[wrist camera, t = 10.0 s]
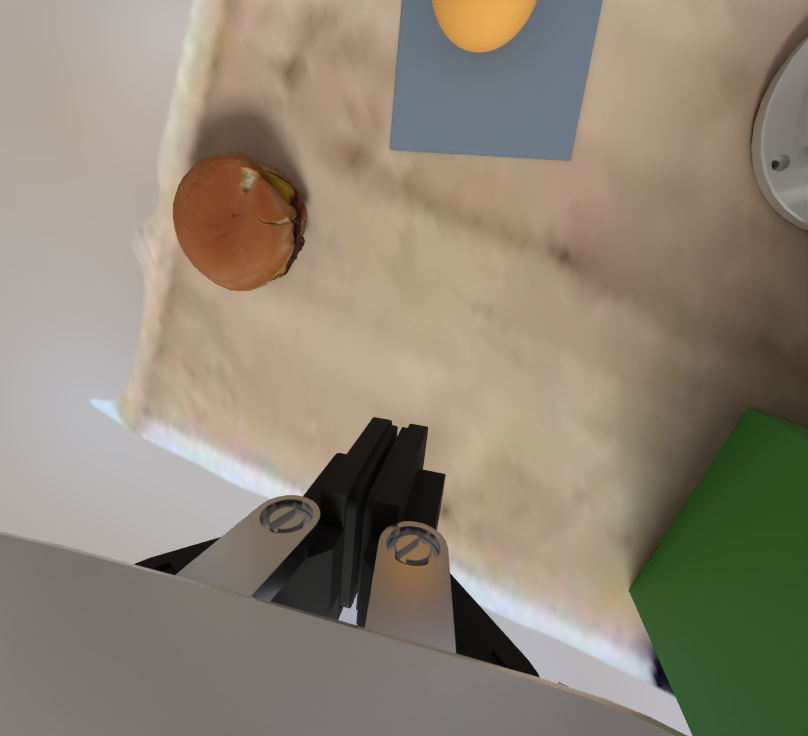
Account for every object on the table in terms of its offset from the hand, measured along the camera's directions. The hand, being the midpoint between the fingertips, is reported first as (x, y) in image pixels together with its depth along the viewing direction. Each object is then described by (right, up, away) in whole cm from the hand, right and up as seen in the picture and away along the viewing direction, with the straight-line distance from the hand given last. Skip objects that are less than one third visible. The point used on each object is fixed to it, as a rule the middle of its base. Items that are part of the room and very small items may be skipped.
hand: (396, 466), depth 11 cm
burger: (-12, +14, +19) cm, 27 cm away
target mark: (+6, +23, +13) cm, 27 cm away
